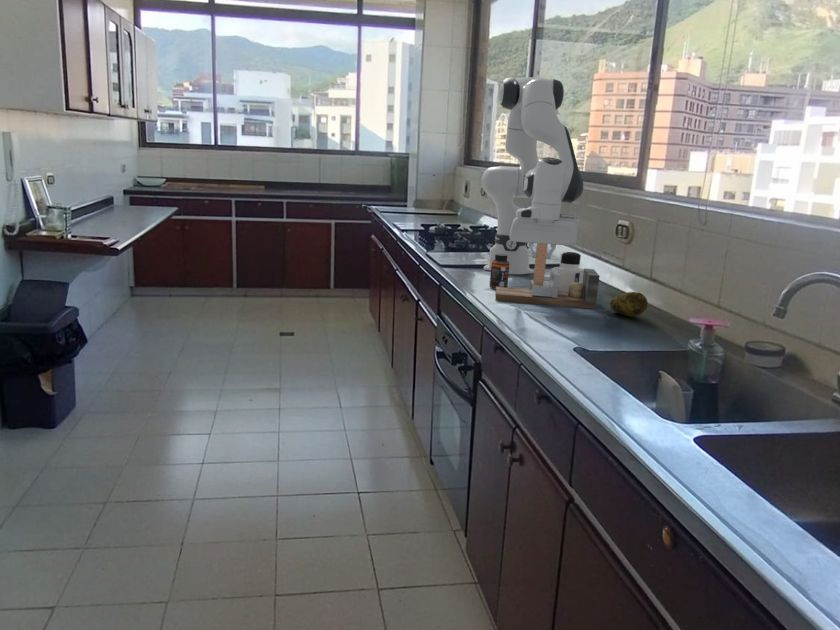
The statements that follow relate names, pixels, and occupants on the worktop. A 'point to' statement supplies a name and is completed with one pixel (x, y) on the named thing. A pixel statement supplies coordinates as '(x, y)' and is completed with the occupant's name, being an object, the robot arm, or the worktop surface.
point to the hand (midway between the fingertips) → (540, 258)
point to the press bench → (562, 298)
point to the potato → (629, 304)
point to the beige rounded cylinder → (576, 290)
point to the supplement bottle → (499, 271)
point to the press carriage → (538, 283)
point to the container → (569, 270)
